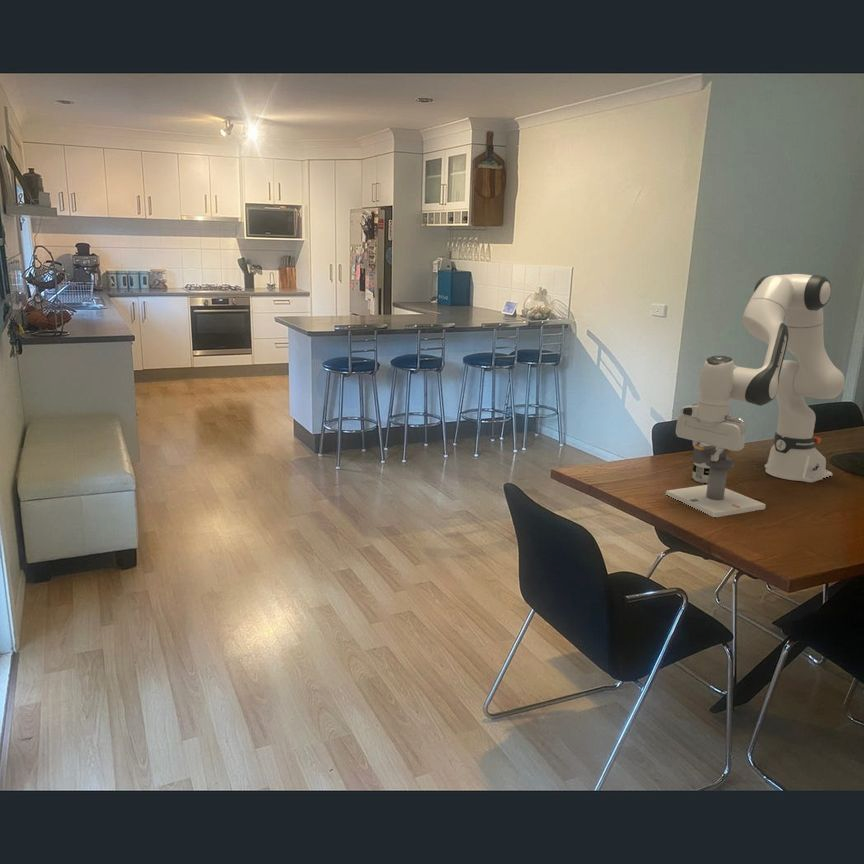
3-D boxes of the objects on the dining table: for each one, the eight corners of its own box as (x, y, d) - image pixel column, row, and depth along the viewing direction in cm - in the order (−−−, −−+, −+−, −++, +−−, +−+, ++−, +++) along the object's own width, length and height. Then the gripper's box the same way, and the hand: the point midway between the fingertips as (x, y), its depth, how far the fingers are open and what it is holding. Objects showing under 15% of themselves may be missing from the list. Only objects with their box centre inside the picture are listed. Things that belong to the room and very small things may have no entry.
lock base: (713, 488, 226) (718, 453, 223) (764, 509, 208) (770, 472, 206) (665, 495, 218) (669, 459, 215) (714, 517, 201) (719, 479, 198)
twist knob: (717, 459, 216) (720, 438, 214) (739, 467, 209) (742, 445, 207) (683, 465, 209) (686, 443, 207) (705, 473, 202) (708, 450, 200)
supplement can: (694, 475, 239) (699, 432, 235) (719, 479, 235) (725, 436, 231) (689, 481, 232) (694, 437, 228) (715, 486, 228) (721, 441, 224)
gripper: (752, 418, 196) (745, 465, 200) (687, 404, 212) (682, 448, 215) (740, 421, 193) (734, 469, 196) (675, 407, 208) (670, 451, 212)
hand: (706, 458), depth 206 cm, fingers open, 4 cm apart
